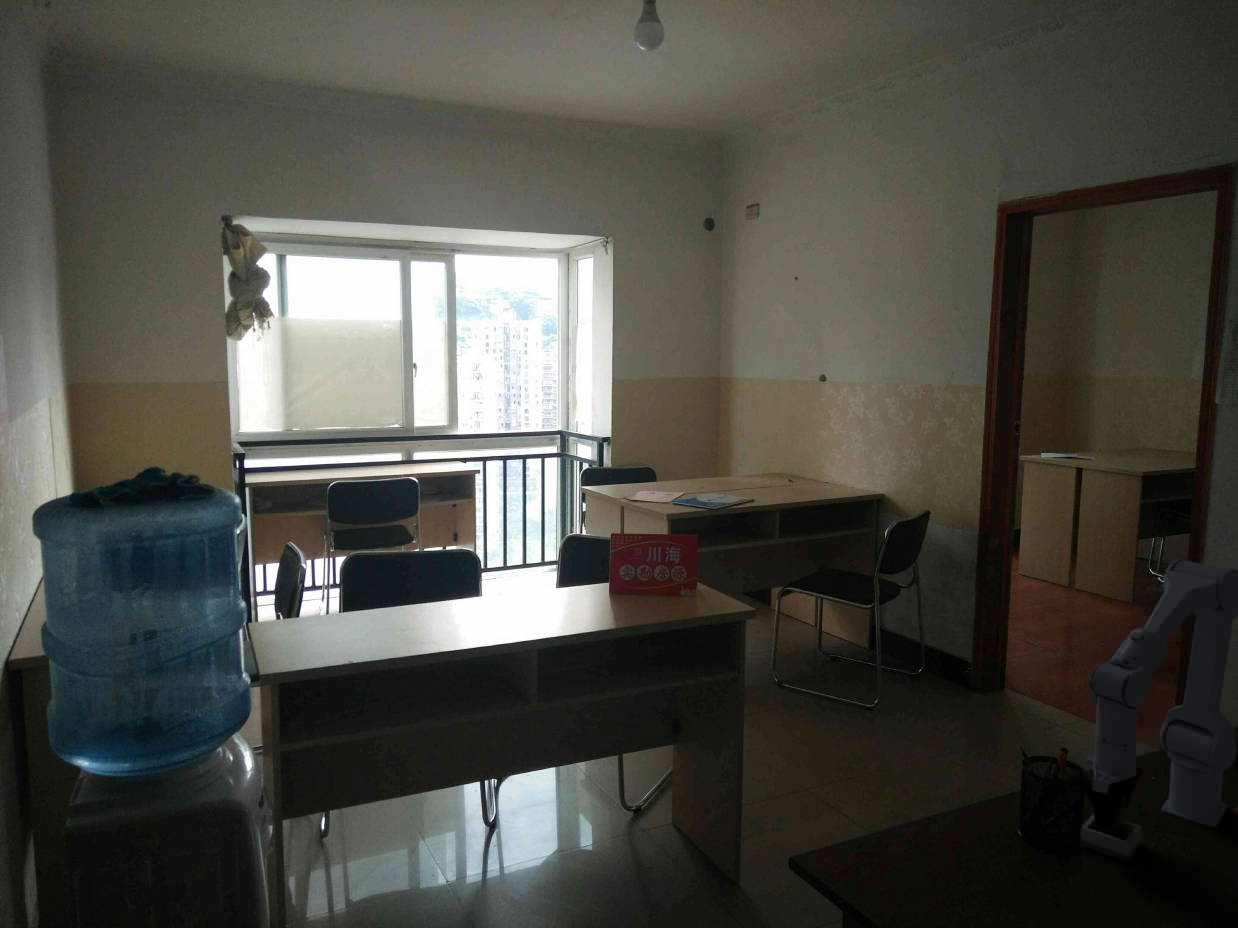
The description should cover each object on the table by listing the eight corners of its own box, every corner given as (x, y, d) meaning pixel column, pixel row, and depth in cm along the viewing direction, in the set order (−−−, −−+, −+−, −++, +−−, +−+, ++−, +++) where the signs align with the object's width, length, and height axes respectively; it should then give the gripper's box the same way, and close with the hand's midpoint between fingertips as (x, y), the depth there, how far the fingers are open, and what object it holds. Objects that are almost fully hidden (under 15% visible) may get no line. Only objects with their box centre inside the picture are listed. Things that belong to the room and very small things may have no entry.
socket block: (1094, 827, 145) (1094, 811, 145) (1141, 843, 140) (1142, 826, 140) (1080, 844, 140) (1080, 827, 140) (1128, 861, 135) (1129, 843, 135)
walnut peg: (1128, 837, 140) (1129, 797, 139) (1120, 848, 137) (1122, 806, 136) (1101, 828, 143) (1102, 788, 142) (1093, 838, 140) (1094, 798, 139)
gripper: (1102, 717, 146) (1099, 793, 147) (1073, 745, 136) (1069, 826, 137) (1150, 729, 141) (1146, 807, 142) (1123, 759, 131) (1119, 843, 132)
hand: (1111, 818), depth 140 cm, fingers open, 7 cm apart
